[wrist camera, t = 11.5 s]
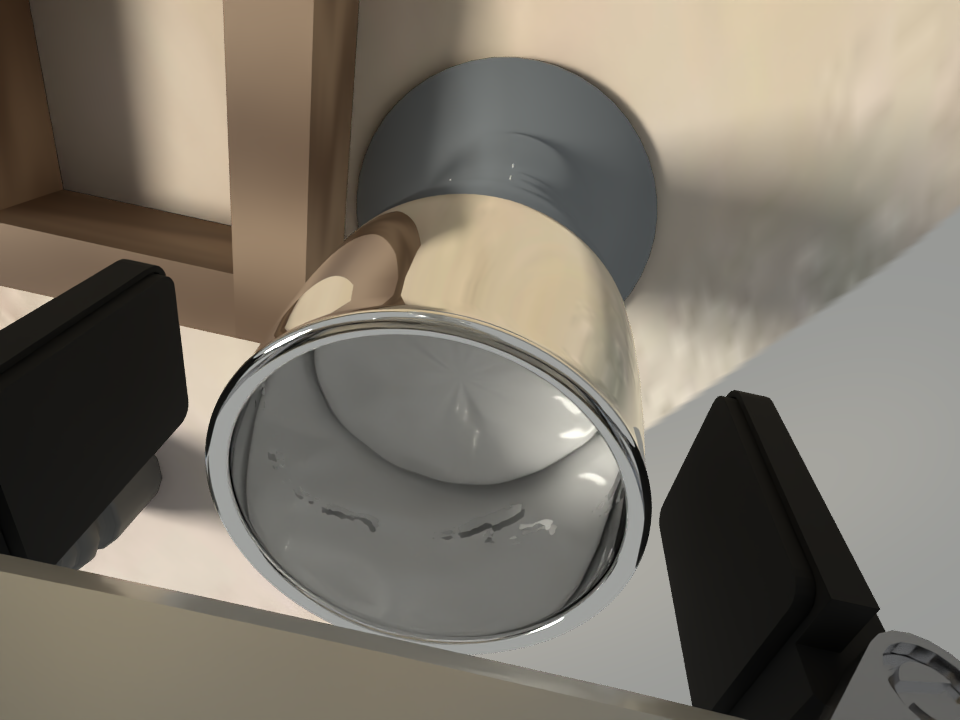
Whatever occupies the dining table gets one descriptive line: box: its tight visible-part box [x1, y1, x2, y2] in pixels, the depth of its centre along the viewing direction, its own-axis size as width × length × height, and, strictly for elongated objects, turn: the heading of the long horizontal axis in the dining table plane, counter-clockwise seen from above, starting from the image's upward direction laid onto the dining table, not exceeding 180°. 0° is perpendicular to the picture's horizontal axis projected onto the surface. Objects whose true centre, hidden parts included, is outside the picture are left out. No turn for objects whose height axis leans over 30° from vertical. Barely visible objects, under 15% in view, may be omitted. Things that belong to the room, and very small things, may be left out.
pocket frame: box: [0, 0, 359, 343], centre depth 19 cm, size 14×14×4 cm
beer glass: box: [205, 133, 652, 655], centre depth 15 cm, size 7×7×15 cm
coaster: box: [357, 57, 657, 302], centre depth 22 cm, size 11×11×1 cm
